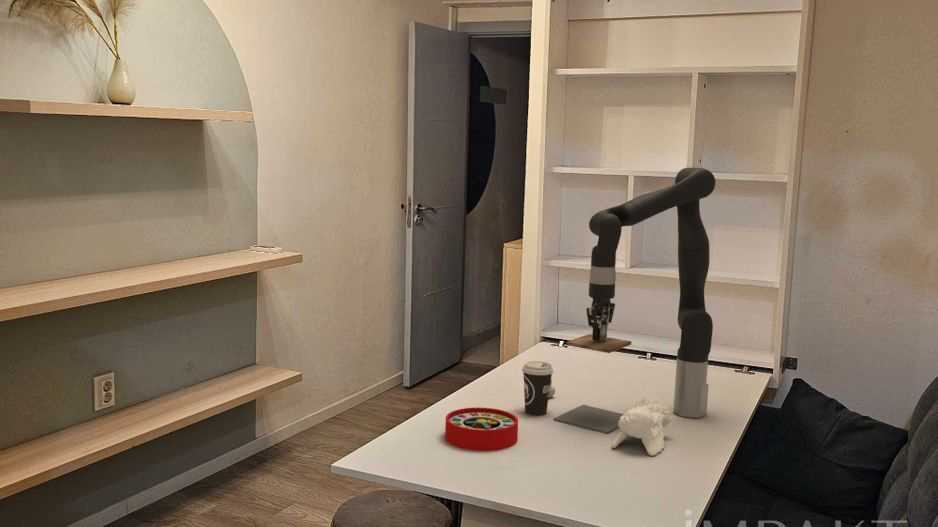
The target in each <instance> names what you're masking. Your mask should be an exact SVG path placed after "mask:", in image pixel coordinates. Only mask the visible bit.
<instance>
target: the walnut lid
mask: <svg viewBox="0 0 938 527" xmlns="http://www.w3.org/2000/svg"><path fill="white" fill-rule="evenodd" d="M600 328H601V331H600V340H599V341H595V340H593V339H592V334H593V333H589V334H585V335H583V336H579V337H576V338H574V339H570V340H568V341H566V346H569V347H574V348H580V349H585V350H591V351H597V352H602V353H607V354H611V353H614V352H616V351H618V350H621V349H624V348H626V347H629V346H631V345H632V341H631V340H626V339H620V338H614V337H610V336H607V337H606V338H605V335H606V325H605V324H601V327H600Z"/></svg>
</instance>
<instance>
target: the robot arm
mask: <svg viewBox="0 0 938 527" xmlns="http://www.w3.org/2000/svg"><path fill="white" fill-rule="evenodd" d="M715 188H716V178H715V175H714V174H713V173H712V172H711V171H710V170H709V169H706V168H703V167H685V168H682V169H680V170H679V171H678V173H676V176H675V179H674V184H672V185H671V186H667V187H665V188H662V189H659V190H654V191H651V192H648V193H645V194H642V195H639V196H637V197H634V198H632V199H630V200H628V201H625V202H624V203H622V204H620V205H615V206H612V207H608V208H605V209H602V210H600V211H597V212H596V213H594V214H593V215H592V216H591V218H590V220H589V222H588V227H589V230H590V232H591V233H592V234H593V235H595V236H597V237H598V240H597V245H595V246H593V247H592V250H591V256H590V257H591V260H590V270H589V279H588V280H589V282H588V296H589V297H590V298H591V299H592V302H591V307H586V316H587V317H586V318H587V323H588V326H589V327H591V328H592V333H591V334H592V339H593V340H595V341H599V340H600V331H601V328H600V327H601V324H605V325H606V335H605V338H606V337H608V326H609V324H612V320H613V317H614V312H615V308H616V303H615V302H612V301H611V300H612V299H614V298H615V296H616V295H615V293H616V281H617V280H616V278H617V275H616V260H617V250H618V247H619V243H620V239H621V236H622V227H623V228H624V227H631V226H635V225H637V224H639V223H641V222H644V221H646V220H648V219H650V218H652V217H654V216H656V215H658V214H661V213H663V212H665V211H667V210H670V209H672V208H674V207H676V212H677V213H676V214H677V263H678V264H677V266H678V280H679V281H678V282H679V300H678V301H679V302H678V313H677V324H678V327H679V329H680V330H681V331H680V332H681V333H680V343H679V344H680V345H679V347H678V349H677V350H676V351H677V353H676V368H675V369H676V370H675V381H674V395H673V396H674V397H673V408H672V409H673V411H672V412H673V413H674V414H675V415H677V416H679V417H683V418H693V419H695V418H696V419H701V418H703V417H704V416H706V415H707V413H708V412H707V411H708V402H709V400H708V398H709V386H710V385H709V384H708V383H707V380H708V379H707V378H708V366H709V355H710V352H711V350H712V349H711V348H712V341H713V340H712V339H713V329H714V324H713V323H714V322H713V319H712V316H711V315H710V314H709V312H707V309H706V302H705V301H706V300H705V287H706V286H705V285H706V282H707V277H708V275H709V274H708V273H709V269H710V241H709V240H710V239H709V236H708V233H707V230H706V228H705V225H704V222H703V221H702V216H701V211H700V200H701V199H706V198H708V197H709V196H710V195H711V194H712V193H713V192H714V190H715Z"/></svg>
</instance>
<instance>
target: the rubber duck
mask: <svg viewBox="0 0 938 527" xmlns="http://www.w3.org/2000/svg"><path fill="white" fill-rule="evenodd" d="M552 383H553V381H552V379H551V383H550V390H549V398H551V397H553V396H554V395H555V393H556V388H555V387H554V386H552ZM549 398H548V399H549Z"/></svg>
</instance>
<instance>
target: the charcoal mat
mask: <svg viewBox="0 0 938 527" xmlns="http://www.w3.org/2000/svg"><path fill="white" fill-rule="evenodd" d="M623 415H625V413H621V412H615V411H611V410H608V409H603V408H599V407H595V406H591V405H586V404H582V405H580V406H577V407H575V408H573V409H571V410H569V411H566V412H564V413H562V414H560V415H557V416H556V417H553V419H552V420H553V421H555V422H559V423H562V424H567V425H571V426H575V427H579V428H583V429H586V430H590V431H594V432H598V433H602V434H607V435H608V434H611V433H613V432H614V431H616V430H618V429H620V428H619V425H618V424H619V423H618V422H619V420H620V417H622V416H623Z"/></svg>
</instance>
